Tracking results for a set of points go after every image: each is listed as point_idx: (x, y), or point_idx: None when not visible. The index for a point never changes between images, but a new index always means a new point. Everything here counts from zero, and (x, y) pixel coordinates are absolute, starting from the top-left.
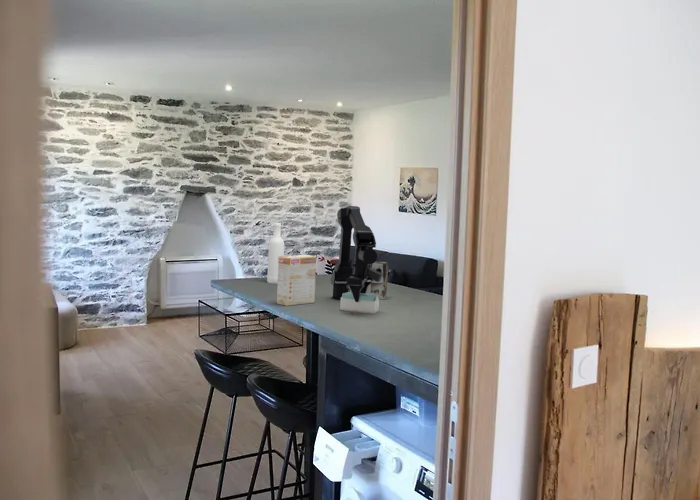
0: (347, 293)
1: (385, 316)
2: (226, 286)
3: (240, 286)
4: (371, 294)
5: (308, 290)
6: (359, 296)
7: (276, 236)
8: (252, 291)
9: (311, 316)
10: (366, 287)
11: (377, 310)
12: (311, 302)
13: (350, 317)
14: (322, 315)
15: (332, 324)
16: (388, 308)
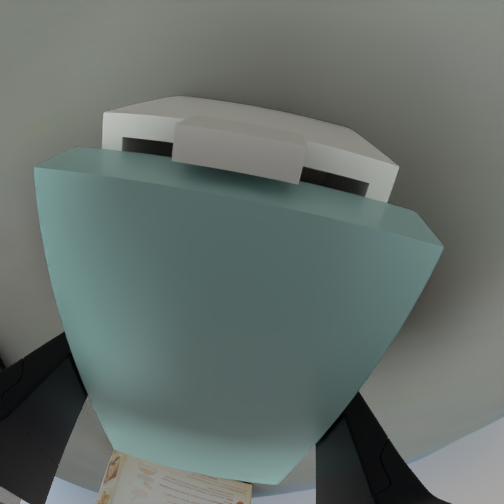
0: (209, 468)
1: (439, 25)
2: (93, 490)
3: (73, 479)
4: (79, 281)
5: (152, 499)
6: (349, 410)
7: None
8: (100, 483)
9: (452, 426)
10: (18, 411)
11: (217, 101)
12: None
13: (501, 307)
14: (437, 411)
15: None
16: (7, 61)
